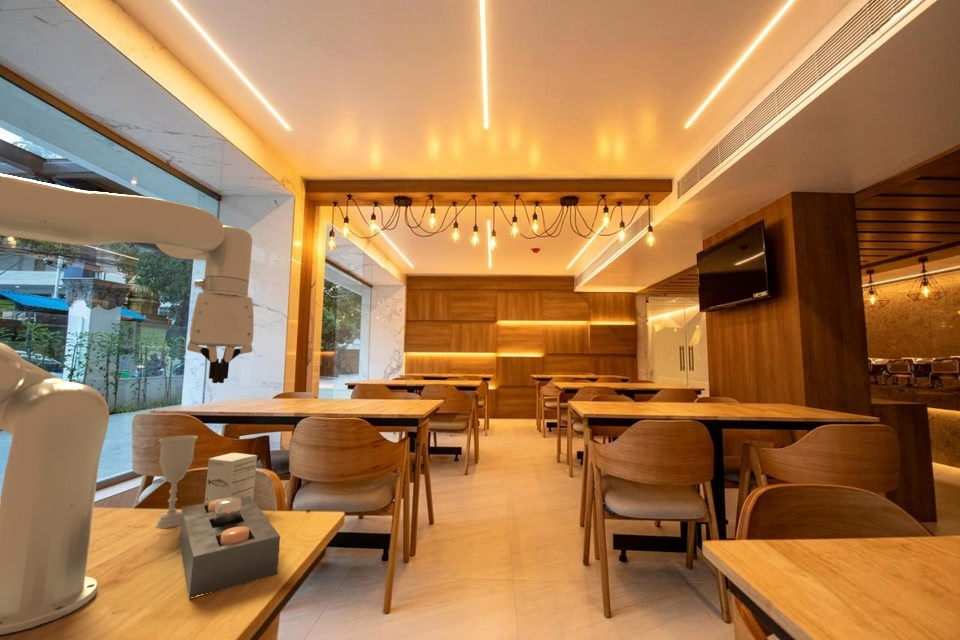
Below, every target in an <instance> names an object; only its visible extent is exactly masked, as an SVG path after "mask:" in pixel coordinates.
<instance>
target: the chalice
mask: <svg viewBox="0 0 960 640" xmlns="http://www.w3.org/2000/svg"><path fill="white" fill-rule="evenodd" d="M198 437H199V436H198V435H187V434H186V435H176V436H175V435H174V436H168V437H163V438H160V439H158V441H159V443H160V453H159V461H158V462H159V467H160V469H161V473H162V474H163V477H164V478H165V481H166V482H168V483H170V484H171V486H170V489H169V491H168V493H169V494H170V497H169V499H167V502H168V504H169V506H168V509H167V510H166V511H164V512H163V513H162V514H161V515H160V516H159V517H160V518H159V519H158V520H157V523H156V524H155V528H156V529H166V528H167V529H168V528H173V527H176V526H177V527H178V526H180V522H181V512H182V511H181V510H178V509H176V506H175V504H176V502H177V501H178V498H177V495H176V494H177V492H178V491H179V490H178V486H177V485H178V482H179V481H181V480H183V479H184V477H185V476H186V474H187V473H188V471H189V468H190V467H191V465H192V463H193V460H194V453H195V445H196V441H197V439H198Z"/></svg>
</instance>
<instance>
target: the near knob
mask: <svg viewBox="0 0 960 640" xmlns="http://www.w3.org/2000/svg"><path fill="white" fill-rule="evenodd" d="M246 540H250V538H249V528H248V527H233V528H230V529H227V530H225V531H223V532H222V533H221V541H220V544H219V547H220V546H225V545H229V544H233V543H238V542H242V541H246Z"/></svg>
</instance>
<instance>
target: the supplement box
mask: <svg viewBox="0 0 960 640" xmlns="http://www.w3.org/2000/svg"><path fill="white" fill-rule="evenodd" d="M257 460H258V455H256V454H248V453H240V452H230V453H226V454H222V455H218V456H214V457H211V458H208V465H207V473H206V475H207V476H206V484H205V485H206V486H205V492H204V494H205V495H204V503H209V502H211V501H214V500H217V499H224V498H230V497H238V498H240V497H246V496H251V498H252V499H253V500H254V496H255V495H254V494H255V485H256V474H257ZM204 503H203V504H204Z"/></svg>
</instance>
